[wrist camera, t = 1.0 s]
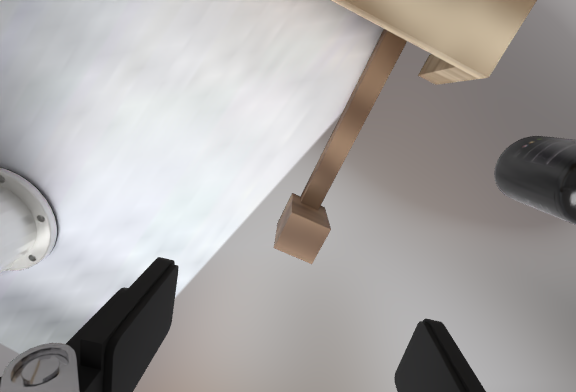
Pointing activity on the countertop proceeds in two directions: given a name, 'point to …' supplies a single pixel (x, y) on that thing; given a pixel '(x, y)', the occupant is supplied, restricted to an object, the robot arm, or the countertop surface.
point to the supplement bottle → (540, 175)
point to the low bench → (450, 31)
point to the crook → (334, 157)
